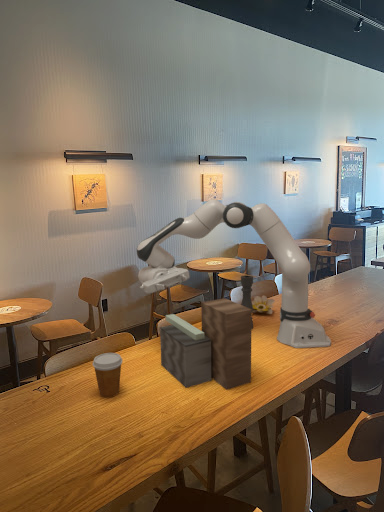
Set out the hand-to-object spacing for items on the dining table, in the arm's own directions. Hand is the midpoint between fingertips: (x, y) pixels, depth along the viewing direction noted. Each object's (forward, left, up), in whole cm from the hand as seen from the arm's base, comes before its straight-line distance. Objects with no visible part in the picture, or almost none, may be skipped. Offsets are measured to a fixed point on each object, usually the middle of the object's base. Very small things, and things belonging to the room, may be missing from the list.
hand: (175, 283), depth 152 cm
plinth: (-20, +19, -29) cm, 40 cm away
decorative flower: (-37, -53, -29) cm, 71 cm away
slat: (-5, +13, -14) cm, 20 cm away
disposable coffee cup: (+18, +33, -29) cm, 48 cm away
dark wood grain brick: (-6, +17, -29) cm, 34 cm away
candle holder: (-29, -31, -29) cm, 52 cm away
